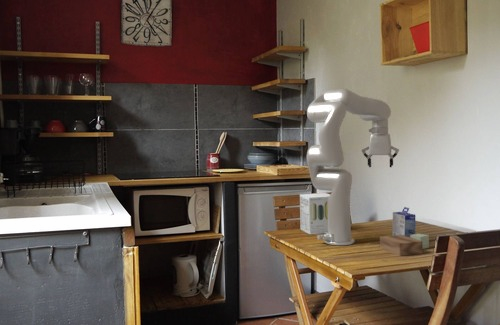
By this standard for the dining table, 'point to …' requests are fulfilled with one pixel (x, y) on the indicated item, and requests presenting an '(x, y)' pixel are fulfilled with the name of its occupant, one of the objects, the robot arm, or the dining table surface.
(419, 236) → the sage cube
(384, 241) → the walnut block
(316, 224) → the supplement box
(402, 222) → the ink cartridge box
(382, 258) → the dining table surface
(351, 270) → the dining table surface
